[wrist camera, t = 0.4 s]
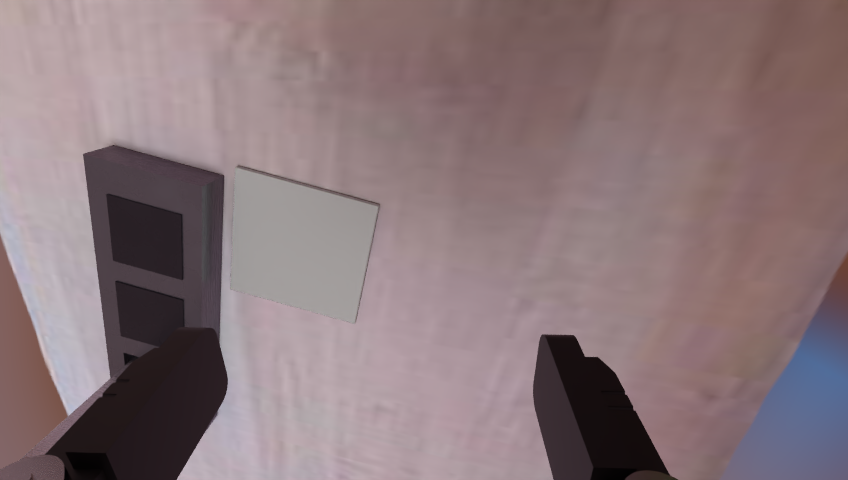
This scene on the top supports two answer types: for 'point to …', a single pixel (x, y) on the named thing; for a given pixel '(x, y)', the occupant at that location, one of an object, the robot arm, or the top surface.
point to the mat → (300, 244)
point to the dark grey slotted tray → (153, 248)
